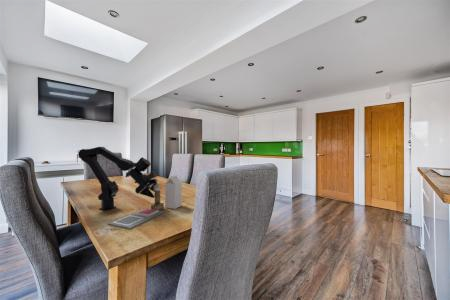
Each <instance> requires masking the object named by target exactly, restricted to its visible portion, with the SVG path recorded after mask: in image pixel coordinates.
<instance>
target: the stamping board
mask: <svg viewBox="0 0 450 300" xmlns="http://www.w3.org/2000/svg"><path fill="white" fill-rule="evenodd" d="M163 214H165V211H163V210H154V209H151V208H143V209H140V210H138V211H136V212H133V213H131V214H128V215H125V216H122V217H121V218H118V219H115V220H113V221H111V222H107V225H108V226H112V227H118V228H122V229H127V230H132V229H134V228H137V226H141V225H142V224H144V223H146V222H148V221H151V220H152V219H155V218H156V217H158V216H161V215H163Z"/></svg>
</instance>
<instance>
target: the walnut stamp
mask: <svg viewBox="0 0 450 300" xmlns="http://www.w3.org/2000/svg"><path fill="white" fill-rule="evenodd" d="M161 190H162V185H161V184H159V183H157V184H156V185H155V186H154V191H155V192H154V191H153V192H154V196H155V197H154V203H152V204H150V209H154V210H159V211H162V210H163V209H164V204H165V202H161Z"/></svg>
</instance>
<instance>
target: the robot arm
mask: <svg viewBox="0 0 450 300" xmlns="http://www.w3.org/2000/svg"><path fill="white" fill-rule="evenodd" d="M77 155H78V158H80V160H82V162H84V163H86V164H87V165H88V167H89V168H90V169H91V171H92V173H93V175H94V177H96V179H97V181H98V182H99V184H100V191H101V193H100V194H99V195H98V196H97V199H98V200H99V201H100V203H101V204H100V205H101V207H98V210H103V211H109V210H111V209H115V208H117V206H115V199H114V197H116V196H117V194H118V192H119V190H120V189H119V185H118V184H117V182H116V180H112V181H111V180H110V179H109V177H108V176H107V174H106V172H105V171H104V169H103V167H102V166H101V165H100V163H99V161H98V156H100V155H101V156H102V157H104V158H106V159H107V160H109V161H111V162H112V163H114V164H116V166H117V167H118V168H119V170H121V171H122V172H125V178H129V177H131V178H132V179H133V181H134V183H135V184H138V186H137V187H136V188H135V189H134V191H135V193H136V194H137V195H138V194H139V195H142V196H146V197H148V198H150V199H151V198H152V199H155V194H153V192H154V193H155V191H154V186H155V185H156V184H158V179H157V176H158V175H157V173H158V172H156V171H150V173H149V174H145V173H144V174H143V173H142V172H145V171H146V170H147V169H148V168H149V167H150V166H151V165H152V164H151V161H150V160H148V159H146V158H144V157H140V158H139V160H138V161H137V162H134V161H133V160H131V159H127V158H124V157H121V156H119V155H118V154H116V153H114V152H112V151H111V150H109V149H107V148H106V147H105V146H96V147H92V148H82V149H80V150H79V151H78V154H77Z"/></svg>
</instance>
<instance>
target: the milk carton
mask: <svg viewBox="0 0 450 300" xmlns="http://www.w3.org/2000/svg"><path fill="white" fill-rule="evenodd" d="M182 187H183V182H182V181H181V179H180V178H179V177H178V175H173V176H170V177H169V179H168V180H166V182H165V189H164V190H165V191H164V192H165V196H164V197H165V202H164V204H165V208H166V209H174V210H176V209H178V208H181V207H182V205H183V204H182V203H183V200H182V199H183V198H182V197H183V195H182V193H183V192H182V190H183V188H182Z"/></svg>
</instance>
